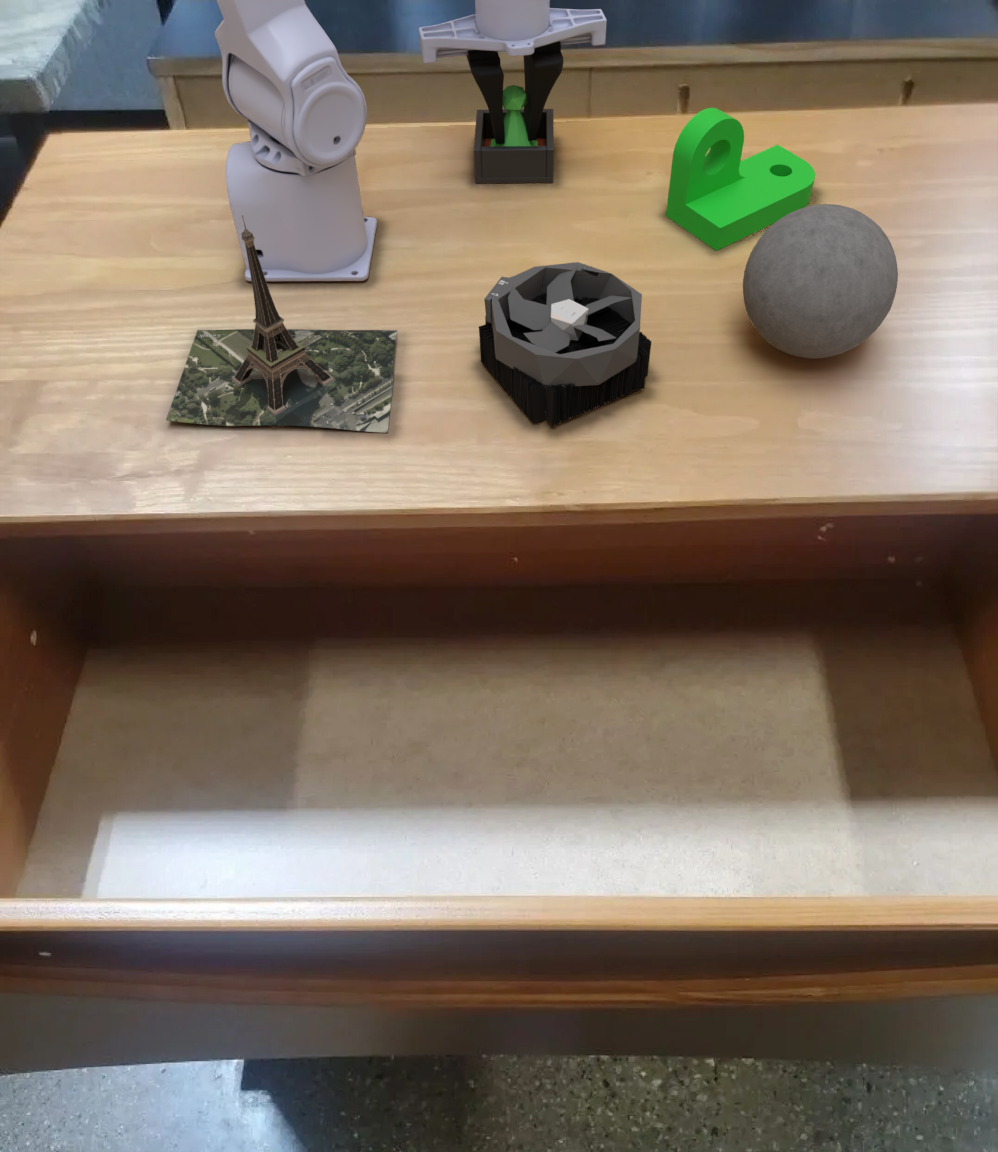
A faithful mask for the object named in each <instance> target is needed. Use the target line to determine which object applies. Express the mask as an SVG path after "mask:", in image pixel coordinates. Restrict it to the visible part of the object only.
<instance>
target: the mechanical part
mask: <svg viewBox="0 0 998 1152" xmlns="http://www.w3.org/2000/svg"><path fill="white" fill-rule="evenodd" d="M744 143H745V131H744V127H743V125H742V123H741V122H740V121H739V120H737V119H736V118H735V117H733V116H731V115H729V114H727V113H726V112H724V111H723V110H720V109H719V108H717V107H707V108H704V109H702V110H701V111H698V113H696V114H694V116H692V118H691V119H690V120H688V121H687V123H686V124H685V125H684V127H683V128H682V130H681V131H680V133H679V135H678V137H677V140H676V141H675V145H674V148H673V152H672V160H671V167H670V168H671V169H670V176H669V177H670V178H669V184H668V194H667V202H666V203H667V204H666V211H665V216H666V217H667V218H668V219H669V220H671V221H672V222H674V223H676V224H677V225H678V226H680V227H681V228H683V230H686V231H687V232H689V233H690V234H691V235H693V236H694V237H696V238H697V239H698V240H700V241H701V242H703V243H704V244H706V245H707V246H708V247H710V248H712V249H713V250H714V251H716V252H717V251H719V250H721V249H723V248H725V247H727V246H729V245H732V244H734V243H736V242H738V241H740V240H742V239H744V238H746V237H748V236H750V235H752V234H754V233H756V232H759V231H760V230H763V229H765V228H767V227H770V226H772V225H773V224H774V223H775V222H777V221H778V220H779V219H781V218H782V217H784V216H786V215H787V214H789V213H791V212H794V211H796V210H798V209H801V208H804V207H807V206H808V205H809V203H810V199H811V197H812V191H813V188H814V183H815V178H816V172H815V169H814V167H813V166H812V165H811V164H810V163H809V162H808V161H807V160H805V159H803V158H801V157H800V156H798V155H797V154H795V153H793V152H791V151H790V150H788V149H786V148H785V147H784V146H781V145H779V144H775V145H773V146H771V147H769V148H766V149H765V150H762V151H760V152H757V153H756V154H753V155H751V156H748V157H747V158H744V159H742V154H743V148H744Z"/></svg>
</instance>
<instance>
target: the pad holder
mask: <svg viewBox="0 0 998 1152" xmlns="http://www.w3.org/2000/svg"><path fill="white" fill-rule="evenodd" d="M506 113H507V110H506V109H504V108H503V119H504V118H505V115H506ZM521 113H522V116H523V118H524V108H522V109H521ZM554 121H555V120H554V108H544V109H543V112H542V115H541V119H540V122H539V127H538V131H537V138H536V141H538V146H493V147H490V146H491V140H492V139H494V135H493V130H492V123H491V117H490V113H489V109H476V117H475V129H474V143H473V165H474V184H535V183H536V184H539V183H542V184H544V183H545V184H547V183H548V184H549V183H551V184H553V183H554V168H555V167H554V165H555V163H554V162H555V135H554V134H555V131H554V130H555V128H554V126H555V125H554Z"/></svg>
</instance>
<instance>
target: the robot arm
mask: <svg viewBox="0 0 998 1152" xmlns="http://www.w3.org/2000/svg"><path fill="white" fill-rule="evenodd" d="M216 2H217V3H216V4H217V5H218V8H219V11H220V13H221V15H222V18H223V19H222V20H221V22H220V23H219V24H218V26H217V27H216V29H215V31H214V37H215V41H216V42H217V45H218V47H219V51H220V54H221V61H222V69H221V70H222V72H221V73H222V74H221V81H222V89H223V92H224V95H225V98H226V101H227V102H228V104H229V105H230V107H231V109H233V110H234V112H235V113H237V114H238V115H240V116H241V117H242V118H244V119H246V121H247V126H248V131H249V134H250V135H249V136H250V140H247V141H243V142H236V143H233V144H231V145H230V146H229V149H228V151H227V156H226V163H225V183H226V194H227V199H228V204H229V208H230V213H231V216H232V220H233V223H234V227H235V231H236V235H237V239H238V243H239V247H240V250H241V254H242V258H243V262H244V266H245V272H244V278H245V280H246V281H248V282H252V281H251V275H250V269H249V263H248V257H247V251H246V247H245V243H244V241H243V240H242V235H241V233H242V232H244V229H245V226H246V229H248V231H250V232H251V233H253V237H254V238H255V239H254V246H255V249H256V252H257V255H258V258H259V262H260V265H261V268H262V271H263V274H264V277H265V280H266V282H363V281H366V280H367V279H368V278H369V274H370V269H371V262H372V256H373V250H374V244H375V237H376V233H377V227H378V221H377V218H376V217H373V216H365V215H364V209H363V202H362V196H361V189H360V181H359V176H358V168H357V162H356V155H357V151H356V148H357V147H358V145H359V143H360V142H361V141H362V138H363V135H364V133H365V130H366V127H367V120H368V106H367V101H366V97H365V95H364V92H363V90H362V88H361V87H360V85H359V84H358V83H357V82H356V80H355V79H353V78H352V77H351V76H350V75H349V74H348V73H347V72H346V70H345V69H344V67H343V65H342V62H341V60H340V59H341V58H340V56H339V53H338V50H337V47H336V46H335V44H334V43H333V42H332V40H331V39H330V37H329V36H328V34H327V33H326V31H325V29H323V27H322V25H320V24H319V22H318V21H317V19H316V18H315V16H314V15H313V13H312V12H311V10H310V9H309V7H308V6H307V3H306V1H305V0H216ZM550 2H551V0H474V8H475V9H474V10H475V13H474V14H470V15H467V16H463V17H459V18H456V19H452V20H448V21H446V22H443V23H442V22H441V23H438V24H434V25H427V26H421V27H418V35H419V36H418V37H419V49H420V56H421V59H422V63H423V64H432V63H433V64H434V63H436V62H437V61H438V59H440V58H441V59H442V58H451V57H461V56H466V59H467V63H468V66H469V69H470V72H471V74H472V78H473V79H474V81H475V83H476V86H477V87H478V89H479V90H480V93H481V95H482V97H483V99H484V101H485V104H486V107H487V108H488V109H489V113H490V117H491V123H492V130H493V135H494V138H495V142H496V144H505V130H504V119H503V109H504V107H503V90H504V80H505V73H504V71H503V69H502V66H501V57H500V55H499V52H502V53H506V54H507V55H508V57H523V73H524V91H525V94H526V98H527V103H526V104H525V106H524V107H523V109H524V121H525V123H526V128H527V135H528V141H532V140H536V138H537V131H538V127H539V122H540V119H541V115H542V112H543V109H545V106H546V103H547V100H548V98H549V95H550V94H551V91H552V89H553V88H554V86H555V84H556V82H557V80H558V79H559V77H560V76H561V74H562V71H563V68H564V56H563V53H562V46H565V45H574V44H577V45H578V44H586V43H590V44H591V46H593V47H594V46H595V47H596V46H603V45H606V38H607V20H608V19H607V17H606V16H605V14H604V12H603V9H601V8H592V9H577V8H576V9H573V8H557V7H550V5H551V3H550ZM488 109H487V110H488ZM242 215H243V218H244V222H245V226H244V222H243V218H242Z"/></svg>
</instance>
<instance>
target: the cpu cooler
mask: <svg viewBox="0 0 998 1152" xmlns="http://www.w3.org/2000/svg"><path fill="white" fill-rule="evenodd" d="M483 299H484V307H485V308H484V309H485V316H484V319H485V321H484V322H485V324H482V325H480V326H478V334H479V352H480V362H481V363H482V365H483V366H484V367H485V368H486V369H487V371H488V372H489V373H490V375H491V376H492V377H493V378H494V379H495V380H496V381H497V383H498V384H499V385H500V386H501V387H502V389H503V390H504V391H505V392H506V393H507V394H508V395H509V396H510V398H511V399H512V400H513V402H514V403H515V404H516V405H517V407H519V409H520V410H521V411H522V412H523V413H524V414H525V415H526V416H527V418H528V419H529V420H530V421H531V423H532V424H534V423H538V422H540V421H543V420H546V421H547V422H548V424H549V425H550V426H551V428H553V427H556V426H559V425H560V424H561V423H566V422H567V421H569V420H573V419H575V418H577V417H579V416H582V415H584V414H585V413H589V412H592V411H594V410H596V409H598V408H601V407H603V406H605V404H606V405H607V404H611V403H613V402H615V401H617V400H618V399H619V400H620V399H623V398H624V397H628V396H629V395H632V394H634V393H637V392H639V391H642V390H645V385H646V384H645V383H646V378H647V377H648V374H649V366H650V358H651V348H652V340H650V339H649V338H648V337H647V335H646V334H644V333H643V331H641V318H642V317H641V316H642V300H643V294H642V293H641V292H639V291H638V290H636V289H635V288H633V287H632V286H631V285H629V284H628V283H626V282H625V281H623V280H622V279H620V278H619V277H618V276H616V275H615V274H613V273H611V272H608V271H605V270H602V269H599V268H598V267H597V268H596V267H593V266H592V265H591V266H590V265H588V264H585V263H582V262H579V261H576V262H566V263H555V264H548V265H538V266H533V267H530V268H528V269H526V270H523V271H522V272H520V273H517V274H516V275H513V276H510V277H507V276H500V278H499V279H498V280H497V282H496V283H495V284H494V285H493V287H492V288H491V289H490V290H489V292H488V293H487V295H486V296H484V298H483Z"/></svg>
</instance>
